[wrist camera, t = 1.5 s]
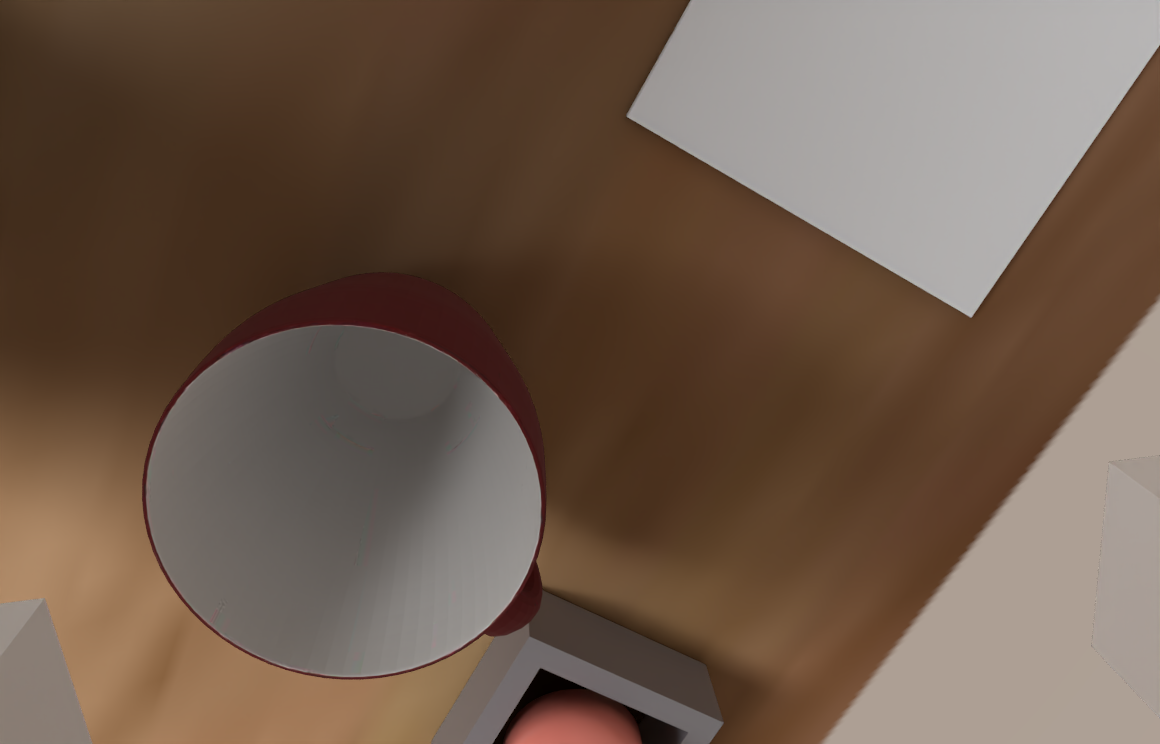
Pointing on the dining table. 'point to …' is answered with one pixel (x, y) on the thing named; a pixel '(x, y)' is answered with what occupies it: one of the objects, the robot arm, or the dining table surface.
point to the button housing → (586, 677)
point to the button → (573, 720)
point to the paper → (901, 116)
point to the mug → (352, 482)
